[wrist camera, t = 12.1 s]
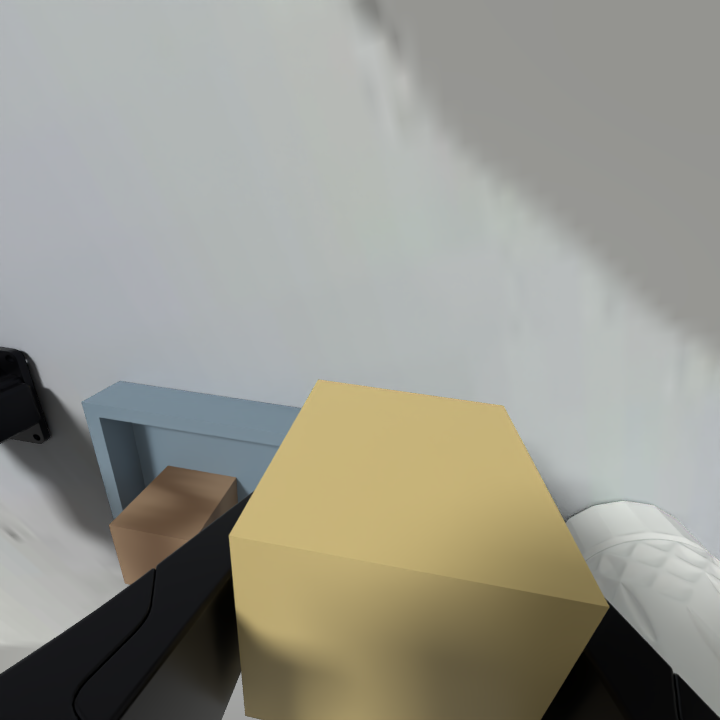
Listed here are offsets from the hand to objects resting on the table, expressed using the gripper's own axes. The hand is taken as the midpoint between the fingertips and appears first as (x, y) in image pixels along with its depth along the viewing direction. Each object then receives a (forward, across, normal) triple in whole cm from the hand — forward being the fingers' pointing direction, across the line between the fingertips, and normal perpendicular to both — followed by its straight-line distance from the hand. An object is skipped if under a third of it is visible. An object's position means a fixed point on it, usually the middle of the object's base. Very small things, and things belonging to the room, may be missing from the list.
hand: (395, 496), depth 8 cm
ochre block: (+1, 0, 0) cm, 1 cm away
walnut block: (+9, +11, +12) cm, 18 cm away
